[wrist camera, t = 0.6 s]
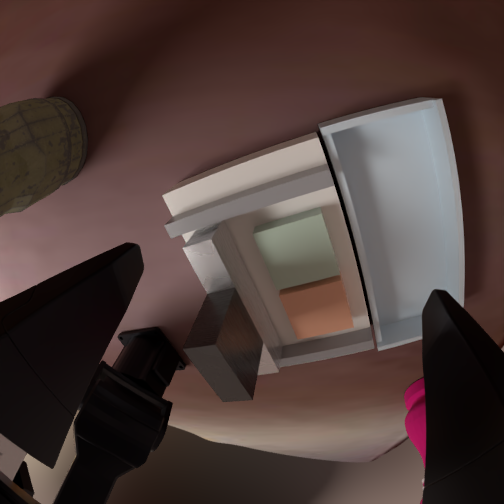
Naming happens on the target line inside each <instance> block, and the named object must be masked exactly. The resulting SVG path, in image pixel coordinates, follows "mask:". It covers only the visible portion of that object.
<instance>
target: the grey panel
mask: <svg viewBox="0 0 504 504" xmlns="http://www.w3.org/2000/svg"><path fill="white" fill-rule="evenodd" d="M183 250H184V252H185V254H186V256H187V257H188V259H189V261H190V263H191V265H192V267H193V269H194V270H195V272H196V274H197V276H198V278H199V280H200V281H201V283H202V285H203V287H204V289H205V290H206V292H207V296H206V298H205V300H204V303H203V305H202V307H201V309H200V311H199V314H198V316H197V318H196V320H195V323H194V325H193V327H192V329H191V332H190V334H189V336H188V338H187V341H186V343H185V345H184V347H183V350H184V352H185V353H186V354H187V356H188V357H189V359H190V360H191V361H192V363H193V364H194V365H195V367H196V368H197V369H198V371H199V372H200V373H201V375H202V376H203V377H204V378H205V380H206V381H207V382H208V384H209V385H210V386H211V387H212V389H213V390H214V391H215V392H216V394H217V395H218V396H219V397H220V399H221V400H222V401H223V402H231V401H245V400H253V396H254V390H255V385H256V380H257V375H263V374H270V373H277V372H279V371H280V363H281V354H282V346H283V345H282V343H281V341H280V339H279V337H278V334H277V332H276V330H275V328H274V326H273V324H272V322H271V320H270V318H269V315H268V313H267V311H266V309H265V307H264V305H263V303H262V301H261V299H260V296H259V294H258V292H257V290H256V288H255V286H254V284H253V281H252V279H251V277H250V275H249V273H248V271H247V269H246V266H245V264H244V262H243V260H242V258H241V256H240V254H239V251H238V249H237V247H236V245H235V243H234V241H233V239H232V236H231V234H230V232H229V230H228V228H227V226H226V223H225V221H224V220H223V221H220V222H217V223H214V224H211V225H208V226H205V227H203V228H200V229H197V230H196V231H195V232H194V233H193V235H192V236H191V237H190V239H189V240H188V242H187V243H186V244H185V246H184V247H183Z"/></svg>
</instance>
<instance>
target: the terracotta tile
mask: <svg viewBox="0 0 504 504" xmlns="http://www.w3.org/2000/svg"><path fill="white" fill-rule="evenodd" d="M279 297H280V299H281V302H282V304H283V306H284V309H285V311H286V313H287V316H288V318H289V320H290V323H291V325H292V328H293V330H294V332H295V335H296V337H297V339H298V340H299V339H304V338H309V337H314V336H318V335H323V334H327V333H332V332H336V331H341V330H345V329H349V328H353V327H354V324H353V317H352V313H351V309H350V305H349V301H348V298H347V294H346V290H345V286H344V283H343V279H342V276H341V272H340V275H336V276H333V277H329V278H325V279H321V280H317V281H313V282H309V283H305V284H301V285H297V286H293V287H289V288H285V289H281V290H280V293H279Z"/></svg>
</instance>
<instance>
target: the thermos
mask: <svg viewBox="0 0 504 504" xmlns="http://www.w3.org/2000/svg"><path fill="white" fill-rule="evenodd" d="M87 143H88V138H87V132H86V125H85V123H84V120H83V118H82V115H81V113H80V111H79V110H78V109H77V107H76V106H75V105H74V104H73V102H71V101H69V100H67V99H65V98H64V97H49V98H46V99H37V98H33V99H28V100H23V101H18V102H14V103H9V104H7V105H4V106H2V107H0V217H1V216H2V215H4V214H7V213H15V212H21V211H23V210H24V209H26V208H28V207H29V206H31V205H33V204H34V203H36V202H38V201H39V200H41V199H43V198H45V197H46V196H48V195H50V194H51V193H53V192H54V191H55V190H57V189H58V188H59V187H60V186H61V185H65V184H67V183H68V182H70V181H71V180H73V179H74V178H76V176H77V175H78V173H79V172H80V170H81V169H82V167H83V164H84V161H85V158H86V155H87Z"/></svg>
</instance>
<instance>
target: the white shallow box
mask: <svg viewBox="0 0 504 504" xmlns="http://www.w3.org/2000/svg"><path fill="white" fill-rule="evenodd" d="M162 196H163V198H164V200H165V202H166V204H167V206H168V208H169V210H170V212H171V214H172V216H173V217H172V218H171V219H170V220H169V221H168V222H167V223H166V224H165V225H164V226H165V228H166V230H167V232H168V234H169V235H170V237H171V238H174V237H177V236H179V235H182V236H183V238H184V240H185V242H186V243H187V242H188V240H189V239H190V237H191V236H192V235H193V233H194V232H195V231H196V230H197V229H200V228H203V227H205V226H208V225H211V224H214V223H217V222H220V221H223V220H224V221H225V223H226V226H227V228H228V230H229V232H230V234H231V236H232V239H233V241H234V243H235V245H236V247H237V249H238V251H239V254H240V256H241V258H242V260H243V262H244V264H245V266H246V269H247V271H248V273H249V275H250V277H251V279H252V281H253V284H254V286H255V288H256V290H257V292H258V294H259V296H260V299H261V301H262V303H263V305H264V307H265V309H266V311H267V313H268V315H269V318H270V320H271V322H272V324H273V326H274V328H275V330H276V332H277V334H278V337H279V339H280V341H281V343H282V345H283V346H282V354H281V363H280V367H284V366H290V365H296V364H302V363H308V362H313V361H318V360H324V359H329V358H334V357H338V356H343V355H348V354H352V353H356V352H361V351H365V350H369V349H373V348H374V343H373V337H372V332H371V327H370V322H369V317H368V312H367V308H366V303H365V298H364V294H363V289H362V285H361V281H360V276H359V272H358V268H357V264H356V260H355V256H354V252H353V248H352V244H351V241H350V237H349V233H348V230H347V226H346V222H345V219H344V215H343V212H342V209H341V205H340V202H339V199H338V195H337V192H336V189H335V185H334V182H333V179H332V176H331V173H330V170H329V167H328V164H327V161H326V158H325V155H324V152H323V149H322V147H321V144H320V141H319V138H318V135H317V133H316V132H314V133H311V134H307V135H304V136H301V137H298V138H295V139H292V140H289V141H286V142H283V143H280V144H277V145H274V146H271V147H268V148H266V149H263V150H260V151H257V152H254V153H252V154H249V155H246V156H244V157H241V158H238V159H236V160H233V161H230V162H228V163H225V164H223V165H220V166H218V167H215V168H212V169H210V170H208V171H205V172H203V173H200V174H198V175H195V176H193V177H191V178H188V179H186V180H183V181H181V182H179V183H177V184H176V185H175V186H173V187H172V188H171V189H170V190H168V191H167V192H166V193H165V194H163V195H162ZM318 207H321V209H322V212H323V216H324V219H325V222H326V225H327V228H328V231H329V235H330V238H331V241H332V244H333V248H334V251H335V255H336V258H337V261H338V265H339V271H340V272H341V276H342V279H343V283H344V286H345V290H346V294H347V298H348V301H349V305H350V309H351V313H352V317H353V324H354V327H353V328H349V329H345V330H341V331H336V332H332V333H327V334H323V335H318V336H314V337H309V338H304V339H299V340H298V339H297V337H296V335H295V332H294V330H293V328H292V325H291V323H290V320H289V318H288V316H287V313H286V311H285V309H284V306H283V304H282V302H281V299H280V297H279V293H280V290H276V288H275V285H274V283H273V281H272V278H271V276H270V274H269V271H268V269H267V267H266V265H265V262H264V260H263V258H262V255H261V253H260V251H259V248H258V246H257V244H256V241H255V239H254V237H253V231H254V228H255V226H258V225H261V224H265V223H268V222H271V221H275V220H278V219H281V218H284V217H288V216H291V215H294V214H298V213H301V212H305V211H308V210H311V209H315V208H318Z"/></svg>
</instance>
